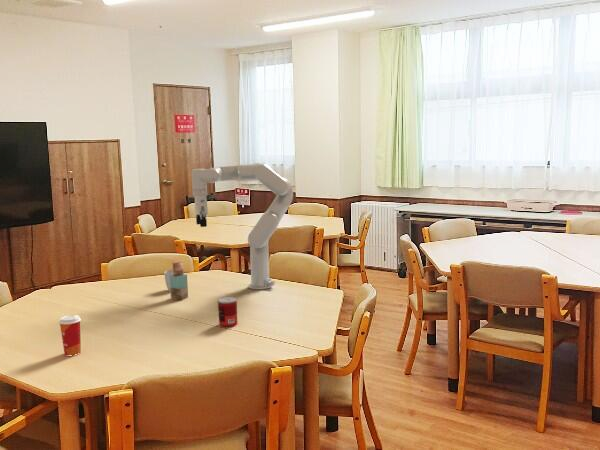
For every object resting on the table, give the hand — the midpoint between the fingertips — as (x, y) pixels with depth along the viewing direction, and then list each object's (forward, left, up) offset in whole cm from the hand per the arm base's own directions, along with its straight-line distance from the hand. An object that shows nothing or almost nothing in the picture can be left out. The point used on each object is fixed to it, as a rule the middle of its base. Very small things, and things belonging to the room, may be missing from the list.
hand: (201, 225), depth 314 cm
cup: (+12, +11, -34) cm, 37 cm away
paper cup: (-17, +99, -34) cm, 106 cm away
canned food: (-49, +45, -34) cm, 74 cm away
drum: (-2, +22, -21) cm, 31 cm away
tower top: (-2, +22, -27) cm, 35 cm away
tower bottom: (-2, +22, -33) cm, 40 cm away
